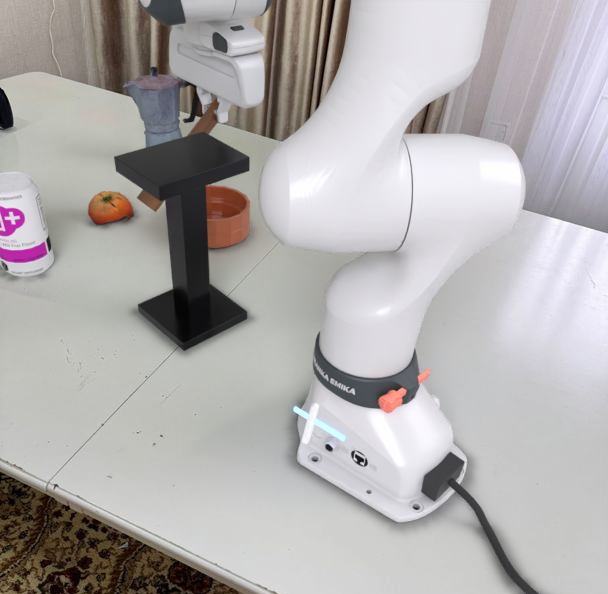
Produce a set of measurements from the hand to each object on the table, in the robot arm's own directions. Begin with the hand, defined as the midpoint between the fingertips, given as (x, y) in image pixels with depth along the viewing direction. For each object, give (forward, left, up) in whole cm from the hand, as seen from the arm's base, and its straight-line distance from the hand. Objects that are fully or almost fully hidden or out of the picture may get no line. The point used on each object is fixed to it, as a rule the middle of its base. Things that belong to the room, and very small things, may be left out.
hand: (215, 118), depth 103 cm
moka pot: (+29, -9, -21) cm, 37 cm away
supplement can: (+10, +32, -21) cm, 40 cm away
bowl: (0, +1, -21) cm, 21 cm away
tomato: (+16, +13, -21) cm, 30 cm away
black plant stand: (-18, +19, -21) cm, 34 cm away
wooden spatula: (0, +6, -5) cm, 7 cm away
